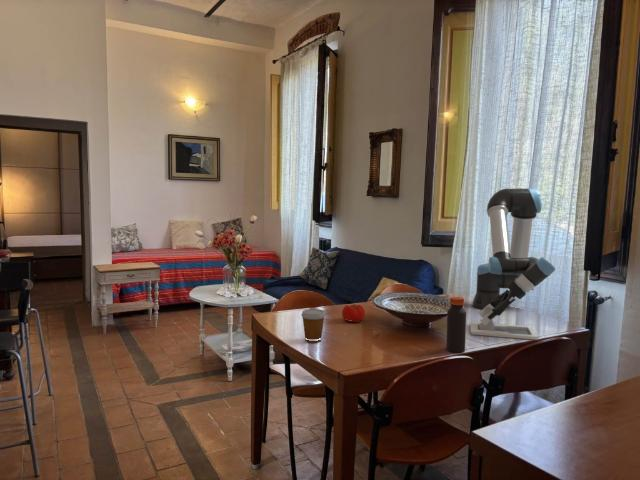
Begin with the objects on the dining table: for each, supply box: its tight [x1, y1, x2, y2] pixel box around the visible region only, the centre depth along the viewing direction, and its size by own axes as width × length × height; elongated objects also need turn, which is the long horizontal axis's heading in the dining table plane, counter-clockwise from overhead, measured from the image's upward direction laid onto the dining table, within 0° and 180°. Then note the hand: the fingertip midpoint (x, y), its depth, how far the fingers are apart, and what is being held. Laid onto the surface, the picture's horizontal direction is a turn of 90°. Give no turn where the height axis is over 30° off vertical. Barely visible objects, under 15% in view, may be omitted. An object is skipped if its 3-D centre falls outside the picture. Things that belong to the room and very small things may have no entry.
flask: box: [479, 307, 496, 331], centre depth 200 cm, size 7×7×10 cm
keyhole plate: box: [469, 321, 540, 341], centre depth 198 cm, size 16×26×2 cm, turn 74°
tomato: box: [341, 303, 366, 323], centre depth 215 cm, size 11×11×8 cm
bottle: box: [445, 296, 467, 354], centre depth 173 cm, size 7×7×20 cm
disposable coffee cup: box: [301, 308, 326, 344], centre depth 184 cm, size 10×10×12 cm
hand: (481, 319), depth 200 cm, fingers open, 13 cm apart
